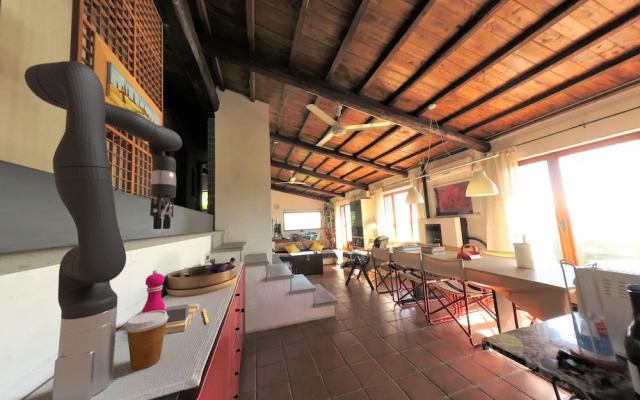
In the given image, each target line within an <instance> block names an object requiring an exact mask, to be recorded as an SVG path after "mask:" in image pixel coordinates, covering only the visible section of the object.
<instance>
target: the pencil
mask: <svg viewBox="0 0 640 400" xmlns="http://www.w3.org/2000/svg"><path fill="white" fill-rule="evenodd" d="M202 314H203V318H204V321H205V325H209V324H210V320H209V317H208V314H207V311H206V308H205V309H202Z"/></svg>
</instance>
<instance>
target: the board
mask: <svg viewBox="0 0 640 400" xmlns="http://www.w3.org/2000/svg"><path fill="white" fill-rule="evenodd" d="M199 310H200V303H196V304H189V318H188V319H187V321H186V322H185V323H178V324H172V325H166V327H165V333H164V335H167V334H173V333H181V332H185V331H186V330H187V329H188V327H189V326H190V323H191V322H192V321H193V319H194V317H196V314H197V312H199Z"/></svg>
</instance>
